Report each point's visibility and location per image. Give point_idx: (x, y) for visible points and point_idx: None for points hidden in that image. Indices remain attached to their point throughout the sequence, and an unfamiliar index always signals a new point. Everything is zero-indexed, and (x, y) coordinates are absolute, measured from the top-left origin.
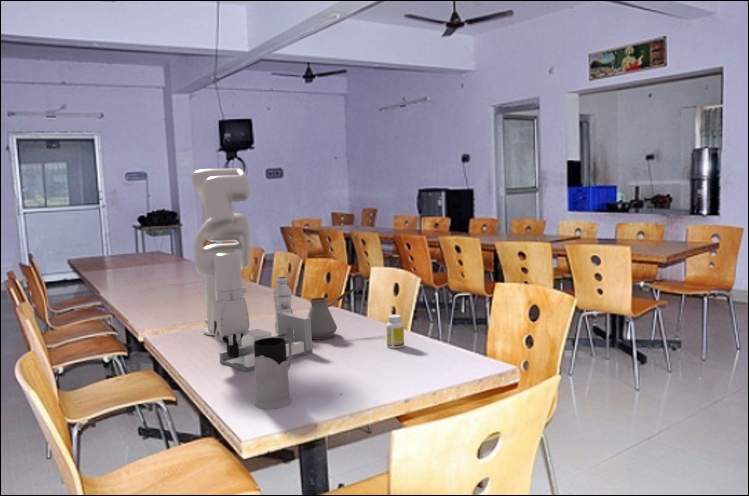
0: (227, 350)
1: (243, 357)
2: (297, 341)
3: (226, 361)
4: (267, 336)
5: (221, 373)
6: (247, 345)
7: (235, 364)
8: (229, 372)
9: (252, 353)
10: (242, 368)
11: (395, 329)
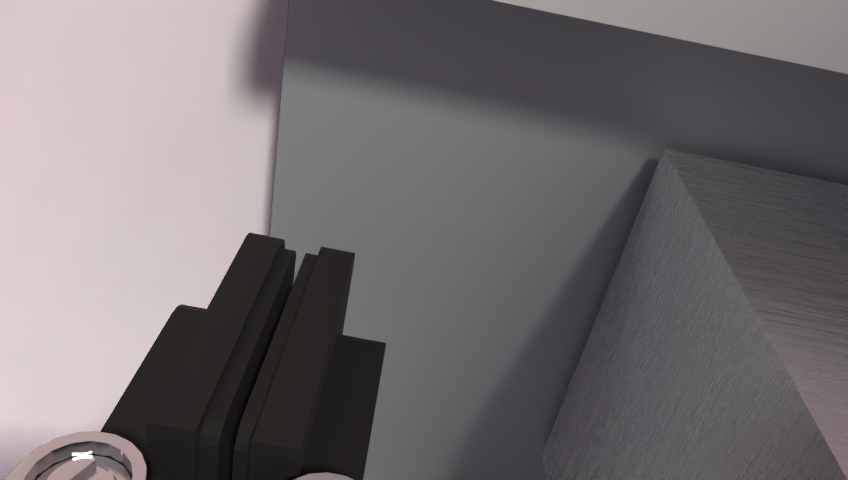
0: (147, 368)
1: (604, 203)
2: None
3: (284, 110)
4: None
5: (33, 304)
6: (643, 467)
7: None
8: (126, 356)
9: (569, 473)
10: None
11: None
